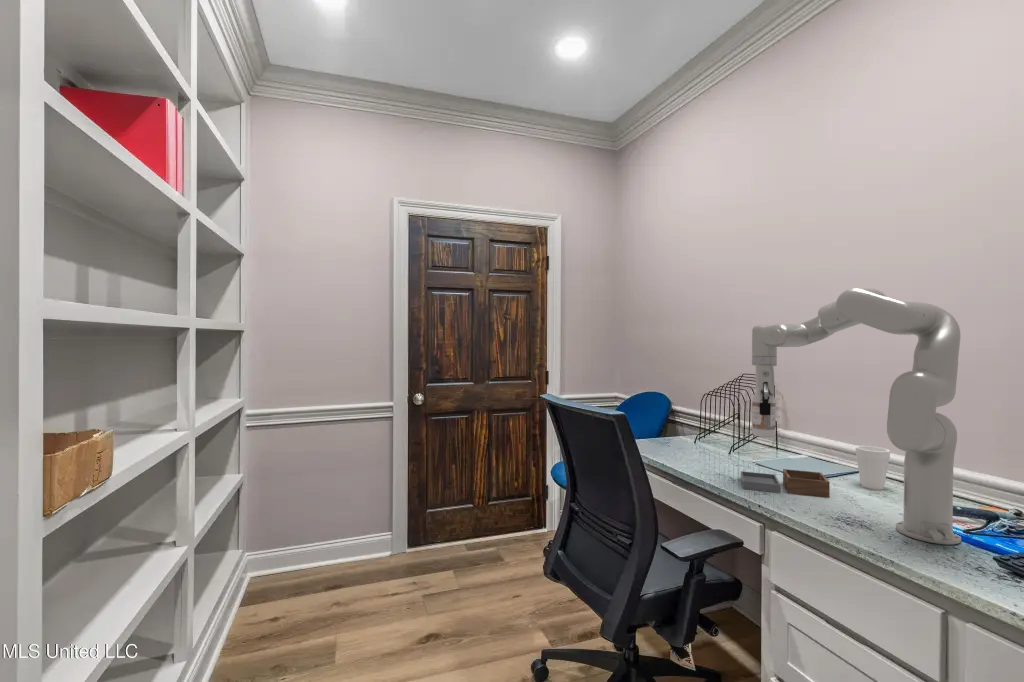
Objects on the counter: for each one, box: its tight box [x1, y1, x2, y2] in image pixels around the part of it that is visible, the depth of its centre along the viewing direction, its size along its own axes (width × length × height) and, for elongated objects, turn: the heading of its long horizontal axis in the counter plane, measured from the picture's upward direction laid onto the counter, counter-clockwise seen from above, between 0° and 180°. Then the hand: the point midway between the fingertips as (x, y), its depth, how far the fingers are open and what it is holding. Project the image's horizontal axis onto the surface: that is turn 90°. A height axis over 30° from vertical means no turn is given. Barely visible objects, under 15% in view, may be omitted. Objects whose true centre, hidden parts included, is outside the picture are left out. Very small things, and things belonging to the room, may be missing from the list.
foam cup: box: [855, 445, 891, 491], centre depth 162 cm, size 10×9×13 cm
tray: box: [740, 470, 782, 494], centre depth 163 cm, size 13×11×3 cm
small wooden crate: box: [782, 468, 831, 498], centre depth 158 cm, size 11×11×5 cm
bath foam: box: [751, 391, 777, 438], centre depth 163 cm, size 7×7×20 cm
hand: (763, 412), depth 163 cm, fingers closed on bath foam, 7 cm apart
